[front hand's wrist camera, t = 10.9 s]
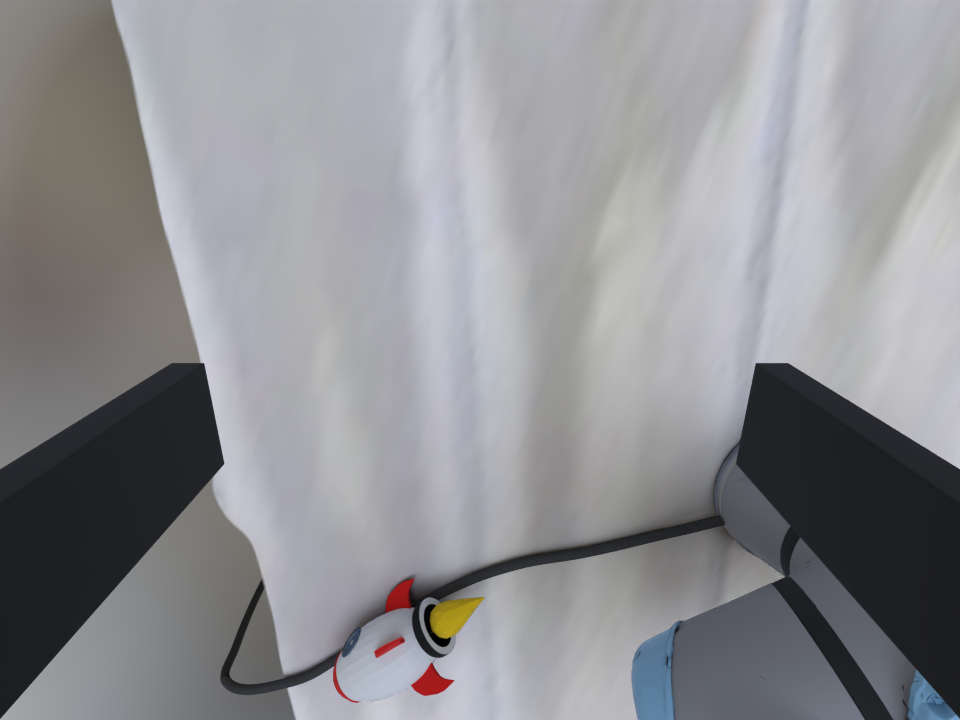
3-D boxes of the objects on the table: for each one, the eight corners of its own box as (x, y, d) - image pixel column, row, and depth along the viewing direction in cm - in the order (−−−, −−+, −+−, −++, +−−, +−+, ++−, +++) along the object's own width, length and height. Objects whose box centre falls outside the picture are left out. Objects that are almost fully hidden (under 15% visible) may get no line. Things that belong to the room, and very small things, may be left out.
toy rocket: (442, 588, 45) (287, 682, 50) (506, 673, 45) (345, 758, 50) (465, 535, 54) (332, 619, 59) (519, 605, 54) (381, 683, 59)
